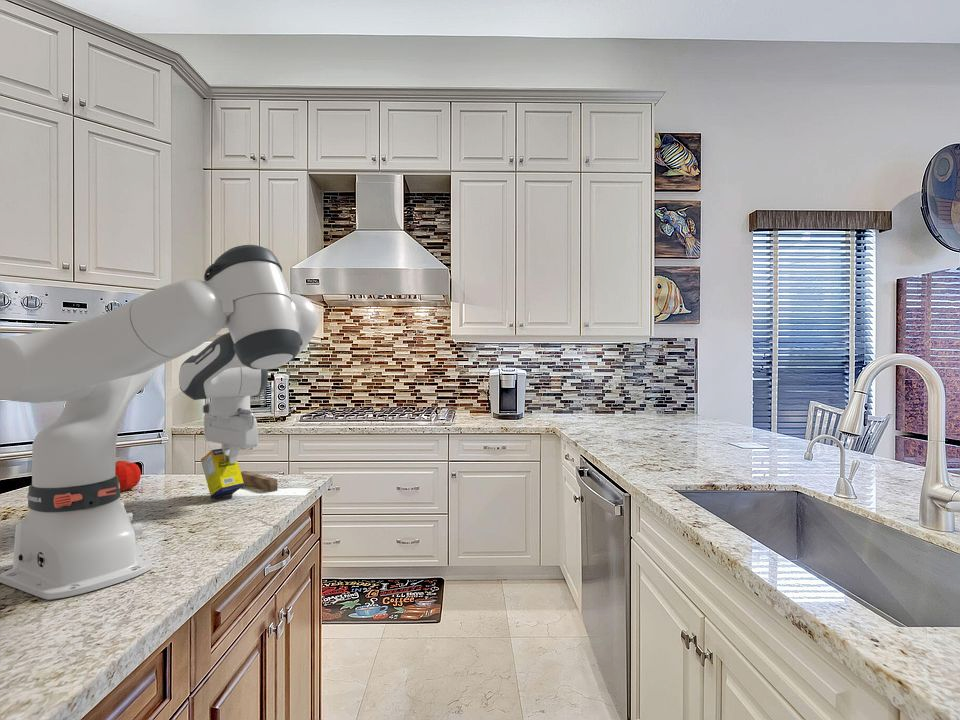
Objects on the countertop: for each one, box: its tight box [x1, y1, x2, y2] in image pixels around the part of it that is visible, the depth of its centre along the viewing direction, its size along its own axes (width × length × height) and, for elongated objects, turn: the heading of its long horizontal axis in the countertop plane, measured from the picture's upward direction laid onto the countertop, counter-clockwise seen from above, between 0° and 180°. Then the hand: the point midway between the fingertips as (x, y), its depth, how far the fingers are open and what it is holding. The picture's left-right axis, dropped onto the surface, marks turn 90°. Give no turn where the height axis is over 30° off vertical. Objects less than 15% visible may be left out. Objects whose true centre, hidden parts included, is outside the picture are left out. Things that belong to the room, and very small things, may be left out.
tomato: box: [115, 460, 142, 493], centre depth 131 cm, size 11×11×8 cm
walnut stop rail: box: [240, 470, 278, 493], centre depth 136 cm, size 16×2×3 cm, turn 55°
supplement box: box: [200, 448, 245, 499], centre depth 126 cm, size 6×6×11 cm
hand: (230, 462), depth 124 cm, fingers closed
